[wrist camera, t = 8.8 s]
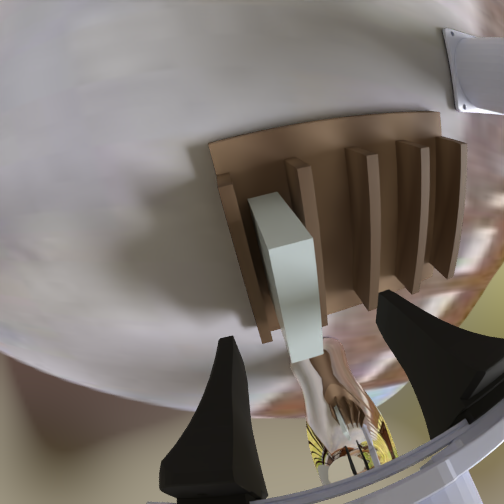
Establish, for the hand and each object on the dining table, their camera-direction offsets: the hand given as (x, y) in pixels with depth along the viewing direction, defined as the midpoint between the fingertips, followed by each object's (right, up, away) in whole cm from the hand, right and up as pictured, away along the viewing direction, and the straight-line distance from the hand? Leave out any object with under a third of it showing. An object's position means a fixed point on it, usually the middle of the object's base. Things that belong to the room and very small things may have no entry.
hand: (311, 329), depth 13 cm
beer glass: (+4, -7, +16) cm, 18 cm away
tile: (-1, +4, +7) cm, 8 cm away
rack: (+5, +6, +8) cm, 11 cm away
